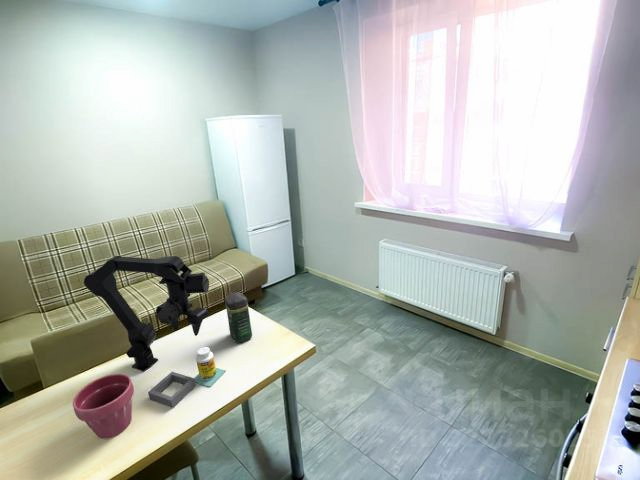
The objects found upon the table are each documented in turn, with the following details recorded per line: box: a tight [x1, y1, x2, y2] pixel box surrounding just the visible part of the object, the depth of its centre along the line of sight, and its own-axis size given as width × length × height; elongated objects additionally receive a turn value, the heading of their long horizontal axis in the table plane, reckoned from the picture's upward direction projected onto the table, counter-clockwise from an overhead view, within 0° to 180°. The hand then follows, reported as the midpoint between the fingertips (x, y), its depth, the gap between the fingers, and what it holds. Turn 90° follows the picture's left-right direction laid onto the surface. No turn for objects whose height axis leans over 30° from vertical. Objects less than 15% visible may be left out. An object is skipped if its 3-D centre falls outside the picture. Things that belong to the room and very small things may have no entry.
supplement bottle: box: [195, 346, 217, 380], centre depth 113 cm, size 6×6×10 cm
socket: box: [147, 371, 197, 409], centre depth 108 cm, size 10×10×3 cm
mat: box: [193, 367, 227, 388], centre depth 115 cm, size 8×8×1 cm
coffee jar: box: [224, 291, 253, 344], centre depth 133 cm, size 10×8×19 cm
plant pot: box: [72, 373, 135, 440], centre depth 96 cm, size 14×14×13 cm
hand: (186, 332), depth 119 cm, fingers open, 9 cm apart
